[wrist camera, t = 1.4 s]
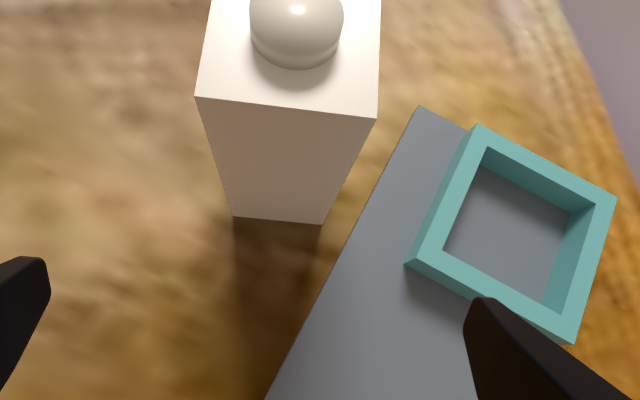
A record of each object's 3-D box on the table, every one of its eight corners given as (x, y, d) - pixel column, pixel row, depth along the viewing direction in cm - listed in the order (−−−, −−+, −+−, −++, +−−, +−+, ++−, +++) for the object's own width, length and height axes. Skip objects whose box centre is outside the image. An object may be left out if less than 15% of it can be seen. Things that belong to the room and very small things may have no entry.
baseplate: (477, 534, 20) (512, 569, 17) (258, 408, 20) (256, 421, 17) (584, 204, 26) (624, 188, 23) (413, 112, 26) (430, 86, 23)
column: (322, 224, 23) (384, 103, 11) (232, 216, 23) (188, 78, 10) (328, 144, 25) (388, -45, 12) (244, 134, 24) (217, -72, 12)
